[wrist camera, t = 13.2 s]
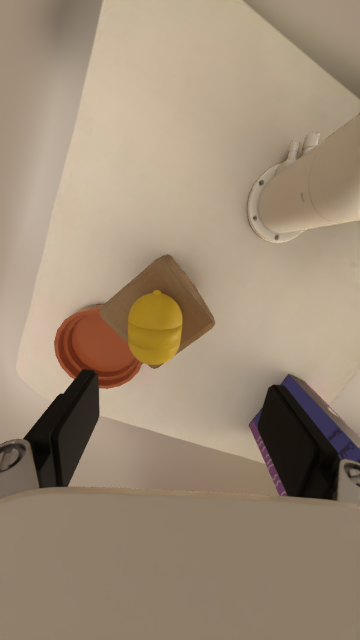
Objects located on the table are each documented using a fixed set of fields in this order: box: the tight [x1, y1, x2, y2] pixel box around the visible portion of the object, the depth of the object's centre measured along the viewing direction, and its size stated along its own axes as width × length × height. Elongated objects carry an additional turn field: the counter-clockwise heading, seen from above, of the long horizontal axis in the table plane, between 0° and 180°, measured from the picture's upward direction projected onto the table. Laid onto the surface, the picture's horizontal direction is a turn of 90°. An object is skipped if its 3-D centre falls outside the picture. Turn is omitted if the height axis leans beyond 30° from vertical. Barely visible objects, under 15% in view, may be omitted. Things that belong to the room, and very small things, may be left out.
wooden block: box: [100, 255, 215, 369], centre depth 32 cm, size 10×10×20 cm
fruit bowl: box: [54, 304, 142, 389], centre depth 43 cm, size 17×17×4 cm
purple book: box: [249, 374, 360, 496], centre depth 40 cm, size 17×5×24 cm, turn 152°
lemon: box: [128, 290, 182, 365], centre depth 20 cm, size 8×5×5 cm
